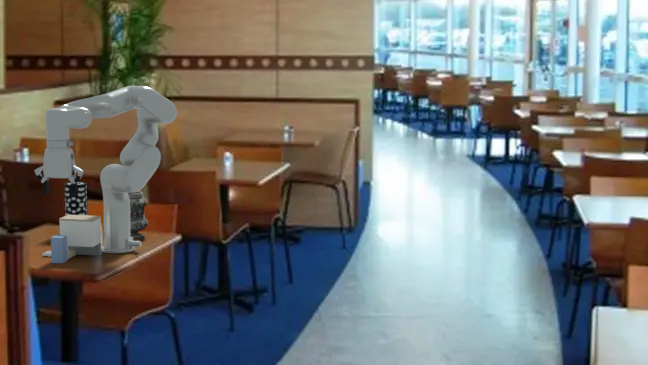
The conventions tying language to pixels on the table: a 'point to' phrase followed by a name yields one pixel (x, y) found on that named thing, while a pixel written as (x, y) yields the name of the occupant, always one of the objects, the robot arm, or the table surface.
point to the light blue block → (60, 249)
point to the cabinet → (82, 233)
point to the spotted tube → (76, 200)
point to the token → (47, 253)
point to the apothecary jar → (137, 215)
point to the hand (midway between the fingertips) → (60, 194)
